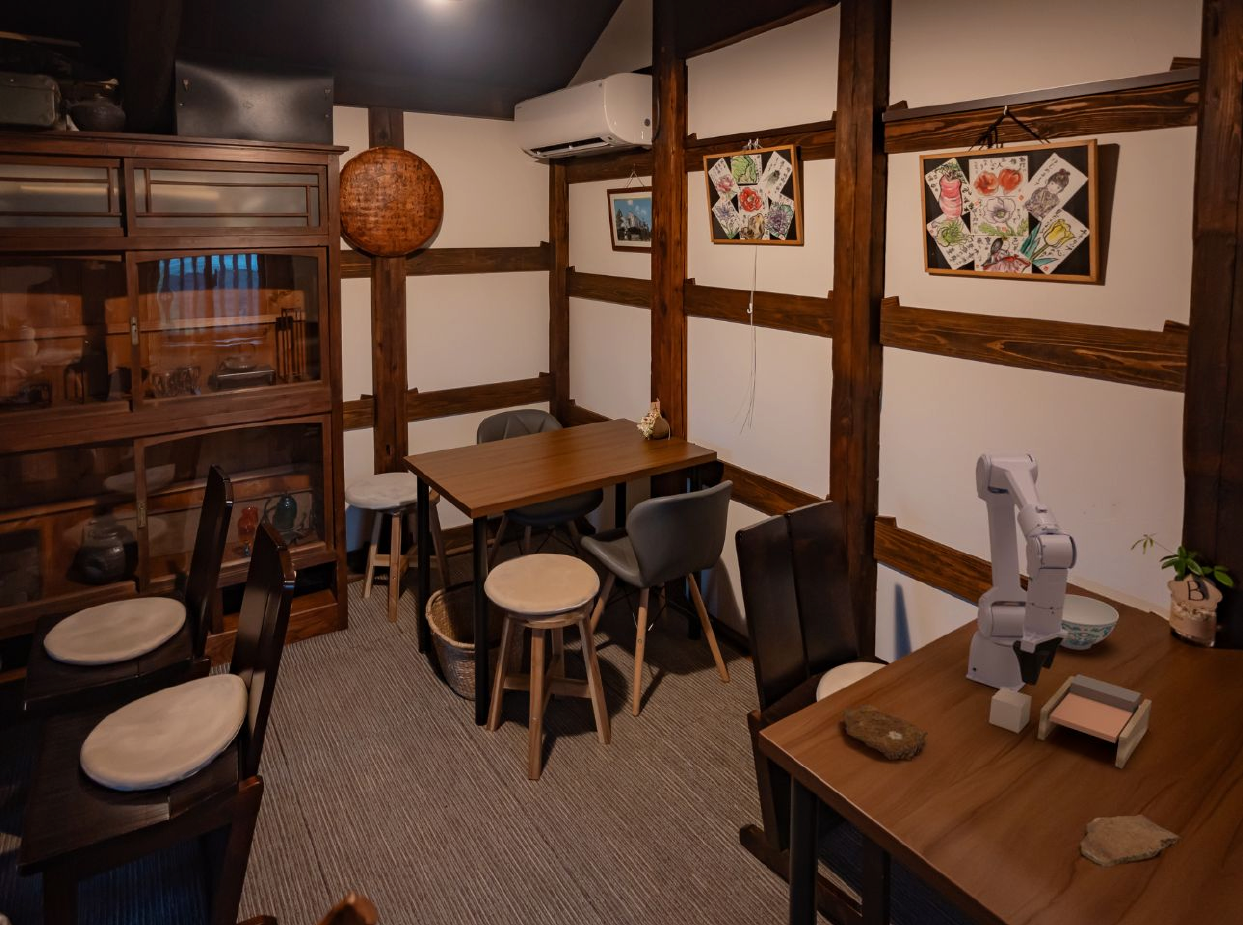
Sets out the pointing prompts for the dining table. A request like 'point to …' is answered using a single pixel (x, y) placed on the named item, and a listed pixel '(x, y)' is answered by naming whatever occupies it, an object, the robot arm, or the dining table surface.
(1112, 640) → the dining table surface
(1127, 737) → the frame
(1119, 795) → the dining table surface
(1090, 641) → the chinaware
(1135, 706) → the trapdoor
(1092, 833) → the pottery shard
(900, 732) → the decorative rock
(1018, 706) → the beige cube
